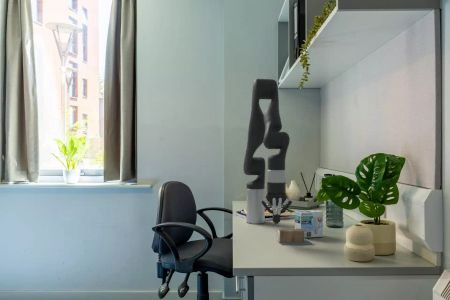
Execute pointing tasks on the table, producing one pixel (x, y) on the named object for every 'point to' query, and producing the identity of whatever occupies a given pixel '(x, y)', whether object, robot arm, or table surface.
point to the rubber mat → (298, 243)
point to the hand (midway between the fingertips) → (276, 223)
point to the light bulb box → (310, 222)
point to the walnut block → (290, 235)
